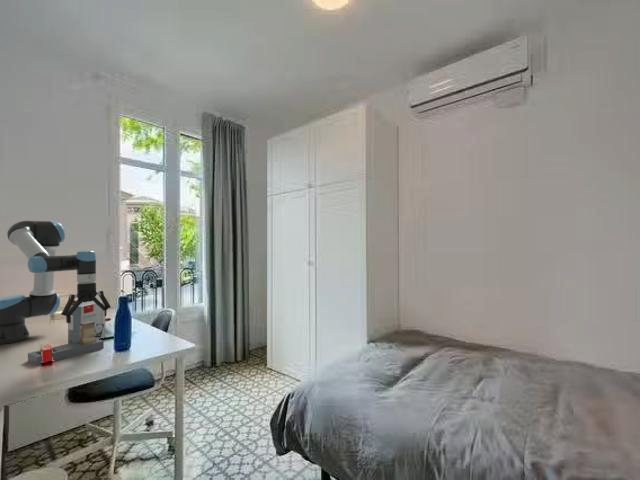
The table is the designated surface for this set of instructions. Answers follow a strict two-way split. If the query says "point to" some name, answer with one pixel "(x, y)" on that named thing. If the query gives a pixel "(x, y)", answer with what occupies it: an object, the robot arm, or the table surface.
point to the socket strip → (66, 351)
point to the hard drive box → (86, 314)
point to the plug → (87, 332)
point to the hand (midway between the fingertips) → (87, 326)
